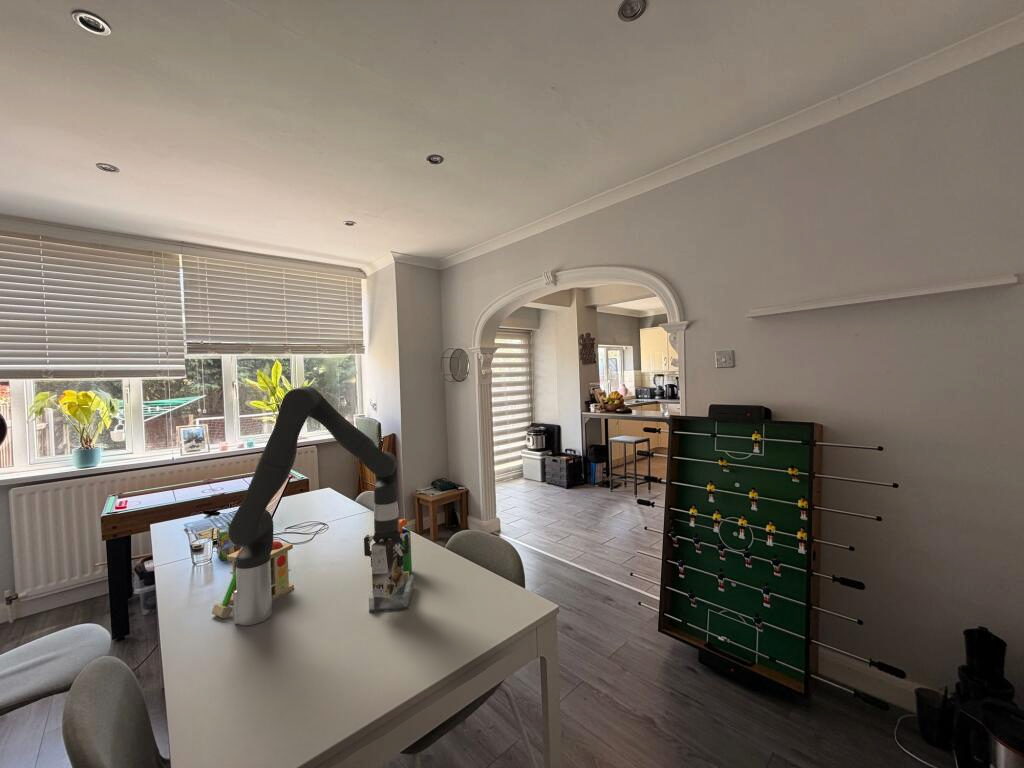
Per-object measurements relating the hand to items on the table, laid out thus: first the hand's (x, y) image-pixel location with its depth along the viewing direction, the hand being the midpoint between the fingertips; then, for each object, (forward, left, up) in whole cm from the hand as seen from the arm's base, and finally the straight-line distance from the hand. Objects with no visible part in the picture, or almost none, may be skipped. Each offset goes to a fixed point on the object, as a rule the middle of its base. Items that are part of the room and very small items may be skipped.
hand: (387, 567), depth 134 cm
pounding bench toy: (-48, +12, -14) cm, 51 cm away
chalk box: (-76, +54, -14) cm, 94 cm away
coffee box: (0, 0, -8) cm, 8 cm away
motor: (-1, +25, -14) cm, 29 cm away
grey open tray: (0, +6, -13) cm, 15 cm away
